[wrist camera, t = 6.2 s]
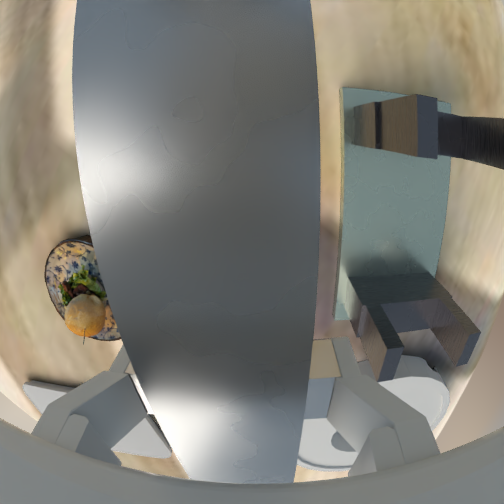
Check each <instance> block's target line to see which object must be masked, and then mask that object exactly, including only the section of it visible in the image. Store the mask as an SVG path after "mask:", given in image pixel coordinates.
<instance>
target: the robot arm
mask: <svg viewBox="0 0 504 504" xmlns="http://www.w3.org/2000/svg"><path fill="white" fill-rule="evenodd" d="M148 414H154V413H153V411H152V409H151V407H150V405H149V403H148V401H147V399H146V397H145V394H144V392H143V390H142V388H141V386H140V383H139V381H138V379H137V376H136V374H135V372H134V369H133V367H132V364H131V362H130V360H129V357H128V354H127V352H126V349H125V347H124V344H123V346H122V348H121V350H120V351H119V353H118V355H117V357H116V358H115V360H114V362H113V364H112V366H111V368H110V369H109V371H103V372H101V373H100V374H98V375H96V376H95V377H93V378H91V379H90V380H88V381H87V382H85V383H83V384H82V385H80V386H78V387H77V388H75V389H73V390H72V391H70V392H68V393H67V394H65V395H63V396H61V397H60V398H58V399H56V400H55V401H53V402H51V403H50V404H48V406H47V407H46V409H45V411H44V413H43V414H42V416H41V418H40V419H39V421H38V423H37V425H36V426H35V428H34V430H33V432H32V433H31V434H30V433H28V432H26V431H24V430H22V429H20V428H18V427H16V426H14V425H12V424H10V423H8V422H6V421H4V420H2V419H1V418H0V504H504V427H502V428H500V429H498V430H496V431H494V432H492V433H490V434H488V435H485V436H483V437H481V438H479V439H477V440H474V441H472V442H470V443H467V444H465V445H462V446H460V447H457V448H455V449H452V450H450V451H447V452H444V453H441V454H440V451H439V449H438V446H437V444H436V441H435V438H434V436H433V433H432V431H431V428H430V426H429V423H428V421H427V418H426V416H424V415H423V414H421V413H420V412H418V411H417V410H416V409H414V408H413V407H411V406H410V405H408V404H407V403H405V402H404V401H403V400H401V399H400V398H398V397H397V396H396V395H394V394H393V393H391V392H390V391H388V390H387V389H386V388H384V387H383V386H381V385H380V384H379V383H377V382H376V381H374V380H373V379H372V378H370V377H369V376H368V375H361V373H360V370H359V367H358V364H357V361H356V358H355V355H354V352H353V349H352V346H351V344H350V341H349V338H348V337H347V336H345V337H335V338H330V339H329V338H328V339H314V340H313V346H312V356H311V366H310V375H309V383H308V391H307V399H306V407H305V414H304V419H319V418H327V420H328V421H329V422H330V423H331V425H332V426H333V427H334V428H335V429H336V430H337V431H338V432H339V433H340V434H341V435H342V437H343V438H344V439H345V440H346V441H347V442H348V443H349V444H350V445H351V446H352V447H353V448H354V449H355V451H356V452H357V453H358V456H357V458H356V460H355V462H354V463H353V465H352V467H351V469H350V470H349V472H348V477H344V478H337V479H329V480H320V481H310V482H296V483H272V484H250V483H225V482H212V481H202V480H193V479H185V478H178V477H171V476H165V475H160V474H154V473H149V472H144V471H140V470H135V469H131V468H127V467H123V466H121V464H122V463H121V461H120V459H119V458H118V457H117V456H116V455H115V454H114V452H113V451H112V450H111V448H112V447H113V446H115V445H116V444H117V443H118V442H119V441H120V440H121V439H122V438H123V437H124V436H126V435H127V434H128V433H129V432H130V431H131V430H132V429H133V428H134V427H135V426H136V425H138V424H139V423H140V422H141V421H142V420H143V419H144V418H145V417H146V416H147V415H148Z"/></svg>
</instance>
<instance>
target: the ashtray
mask: <svg viewBox="0 0 504 504" xmlns="http://www.w3.org/2000/svg"><path fill="white" fill-rule="evenodd" d="M357 364H358V367H359V370H360V373H361V375H368V376H369V377H370V378H372V379H373V380H374V381H376V379H375V376H374V373H373V370H372V368H371V365H370V362H369V360H365V361H362V362H358V363H357ZM376 382H377V381H376ZM377 383H379V384H380V385H381V386H383V387H384V388H386V389H387V390H388V391H390V392H391V393H393V394H394V395H396V396H397V397H398V398H400V399H401V400H403V401H404V402H405V403H407V404H408V405H410V406H411V407H413V408H414V409H416V410H417V411H418V412H420V413H421V414H423V415H424V416H426V418H427V421H428V423H429V426H430V428H431V431H432V430H433V429H434V428H435V427H436V426H437V425H438V424H439V422H440V421H441V420H442V418H443V417H444V415H445V414H446V411H447V408H448V406H449V403H450V397H449V390H448V388H447V387H446V385H445V383H444V381H443V379H442V377H441V376H440V374H439V372H438V371H437V369H436V368H435V367H434V370H432V369H431V368H430V367H429V366H428V364H427V363H426V360H424V359H422V358H420V357H416V356H407V355H401V358H400V361H399V364H398V367H397V370H396V373H395V376H394V378H393V380H389V381H383V382H377ZM357 456H358V453H357V452H356V451H355V449H354V448H353V447H352V446H351V445H350V444H349V443H348V442H347V441H346V440H345V439H344V438H343V437H342V435H341V434H340V433H339V432H338V431H337V430H336V429H335V428H334V427H333V426H332V425H331V423H330V422H329V421H328V420H327V418H319V419H304V421H303V428H302V435H301V441H300V447H299V453H298V459H297V465H299V466H301V467H304V468H307V469H311V470H318V471H346V470H350V469H351V467H352V465H353V463H354V462H355V460H356V458H357Z"/></svg>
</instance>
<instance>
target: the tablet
mask: <svg viewBox="0 0 504 504" xmlns="http://www.w3.org/2000/svg"><path fill="white" fill-rule="evenodd" d="M73 389H75V388H73V387H67V386H61V385H55V384H49V383H44V382H39V381H34V380H32V381H31V382H25V383H24V385H23V390H24V392H25V394H26V395H27V396H28V398H29V399H30V400H31V402H32V403H33V404H34V405H35V407H36V408H37V409H38V410H39V411H40V413H41V414H43V413H44V411H45V409H46V407H47V406H48V404H50V403H51V402H53V401H55V400H56V399H58V398H60V397H61V396H63V395H65V394H67V393H68V392H70V391H72V390H73ZM111 450H112V451H117V452H122V453H128V454H134V455H140V456H147V457H154V458H168V457H170V456H171V453H172V449H171V448H170V446H169V442H168V441H167V439H166V438H165V437H164V435H163V434H162V432H161V431H160V430H159V428H158V427H157V425H156V424H155V422H154V421H153V419H152V418H151V417H150V415H149V414H148V415H147V416H146V417H145V418H144V419H143V420H142V421H141V422H140V423H139V424H138V425H136V426H135V427H134V428H133V429H132V430H131V431H130V432H129V433H128V434H127V435H126V436H124V437H123V438H122V439H121V440H120V441H119V442H118V443H117V444H116V445H115V446H113V447H112V448H111Z"/></svg>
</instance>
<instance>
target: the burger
mask: <svg viewBox="0 0 504 504" xmlns="http://www.w3.org/2000/svg"><path fill="white" fill-rule="evenodd" d="M45 282H46V285H47V289H48V292H49V295H50V298H51V301H52V302H53V304H54V306H55V308H56V310H57V312H58V313H59V314H60V316H61V317H62V318H63V319H64V320H65V324H66V325H67V327H68V328H69V329H70V330H71V331H72V332H73V333H75V334H77V335H79V336H84V339H85V337H89V338H93V339H96V340H101V341H115V340H120V339H121V336H120V333H119V331H118V328H117V325H116V322H115V319H114V316H113V313H112V310H111V307H110V304H109V301H108V298H107V294H106V291H105V288H104V284H103V281H102V277H101V274H100V270H99V267H98V263H97V259H96V255H95V251H94V247H93V243H92V238H91V235H86V236H83V237H80V238H76V239H67V240H64V241H61V242H60V243H59V244H58V245H57V246H56V247H55V248H54V249H53V250H52V251H51V252H50V254H49V256H48V258H47V261H46V265H45ZM83 345H84V342H83Z"/></svg>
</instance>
